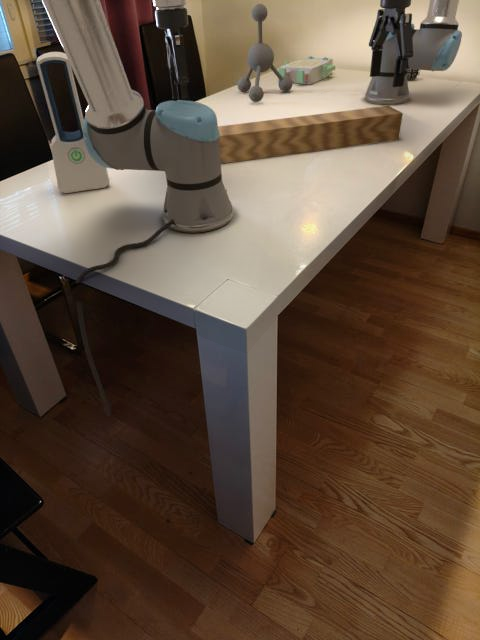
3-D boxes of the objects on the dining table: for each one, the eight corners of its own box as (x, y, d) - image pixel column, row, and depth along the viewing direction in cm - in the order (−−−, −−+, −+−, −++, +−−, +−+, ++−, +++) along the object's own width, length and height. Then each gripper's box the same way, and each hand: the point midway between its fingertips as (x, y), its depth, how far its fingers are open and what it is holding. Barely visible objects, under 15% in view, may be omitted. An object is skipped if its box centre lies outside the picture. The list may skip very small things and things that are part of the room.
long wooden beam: (174, 169, 131) (171, 142, 126) (170, 159, 138) (167, 132, 133) (398, 139, 141) (402, 113, 137) (385, 131, 148) (388, 105, 143)
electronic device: (59, 194, 121) (20, 60, 103) (60, 183, 127) (23, 54, 108) (110, 187, 123) (80, 54, 105) (108, 176, 129) (80, 48, 111)
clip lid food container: (301, 54, 217) (341, 57, 207) (300, 70, 221) (340, 74, 211) (269, 65, 201) (312, 69, 191) (269, 82, 205) (311, 87, 195)
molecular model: (306, 97, 183) (309, 2, 165) (252, 105, 177) (249, 8, 159) (279, 85, 201) (279, -2, 182) (229, 92, 195) (224, 3, 177)
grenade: (402, 81, 196) (406, 53, 190) (402, 77, 200) (406, 50, 194) (419, 81, 194) (424, 53, 188) (419, 78, 199) (423, 50, 193)
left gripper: (195, 11, 104) (204, 115, 117) (179, 2, 123) (188, 92, 136) (160, 14, 102) (173, 119, 115) (149, 4, 122) (162, 95, 135)
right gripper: (438, -10, 113) (421, 89, 126) (387, -16, 132) (377, 71, 145) (408, -7, 111) (395, 92, 124) (361, -14, 131) (354, 73, 144)
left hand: (181, 104), depth 126 cm, fingers open, 13 cm apart
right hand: (385, 81), depth 135 cm, fingers open, 13 cm apart
